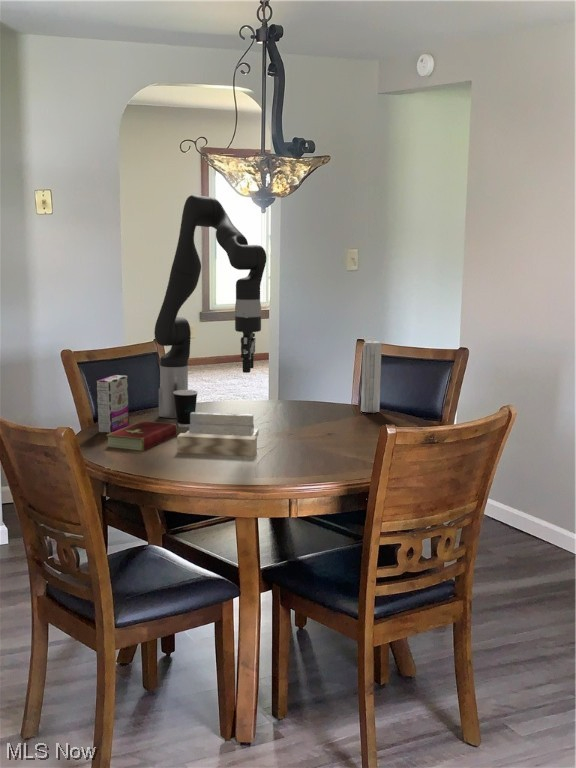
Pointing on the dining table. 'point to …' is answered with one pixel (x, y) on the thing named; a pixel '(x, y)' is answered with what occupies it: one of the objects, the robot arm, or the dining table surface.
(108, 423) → the candy bar box
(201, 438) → the beech batten
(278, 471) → the dining table surface
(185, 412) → the dixie cup
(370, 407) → the air filter
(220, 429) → the ridge
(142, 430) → the hardcover book
